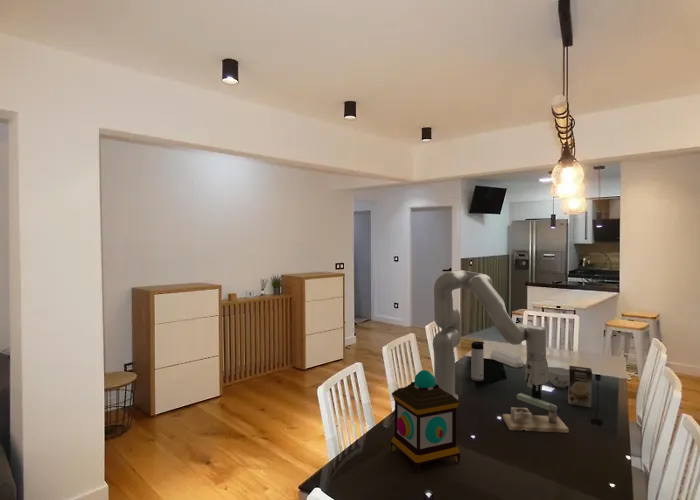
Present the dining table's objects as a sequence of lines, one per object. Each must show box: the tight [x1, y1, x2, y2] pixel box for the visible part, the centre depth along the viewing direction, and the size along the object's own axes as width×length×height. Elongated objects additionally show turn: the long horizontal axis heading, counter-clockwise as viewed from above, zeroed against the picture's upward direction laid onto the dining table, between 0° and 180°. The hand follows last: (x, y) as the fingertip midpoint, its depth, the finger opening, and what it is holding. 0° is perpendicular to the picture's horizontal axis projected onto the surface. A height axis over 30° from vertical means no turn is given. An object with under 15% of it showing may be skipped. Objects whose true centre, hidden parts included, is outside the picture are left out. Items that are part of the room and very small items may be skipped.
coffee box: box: [567, 365, 593, 408], centre depth 200 cm, size 9×6×16 cm
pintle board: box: [502, 410, 570, 434], centre depth 178 cm, size 22×12×6 cm, turn 83°
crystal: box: [490, 347, 525, 369], centre depth 266 cm, size 7×7×24 cm
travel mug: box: [470, 341, 485, 382], centre depth 235 cm, size 6×7×20 cm
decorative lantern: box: [390, 369, 461, 473], centre depth 152 cm, size 20×20×30 cm
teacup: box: [548, 366, 569, 389], centre depth 225 cm, size 15×12×8 cm
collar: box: [510, 406, 533, 424], centre depth 178 cm, size 6×6×4 cm
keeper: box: [516, 392, 558, 413], centre depth 183 cm, size 3×18×2 cm, turn 31°
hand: (536, 399), depth 187 cm, fingers closed
